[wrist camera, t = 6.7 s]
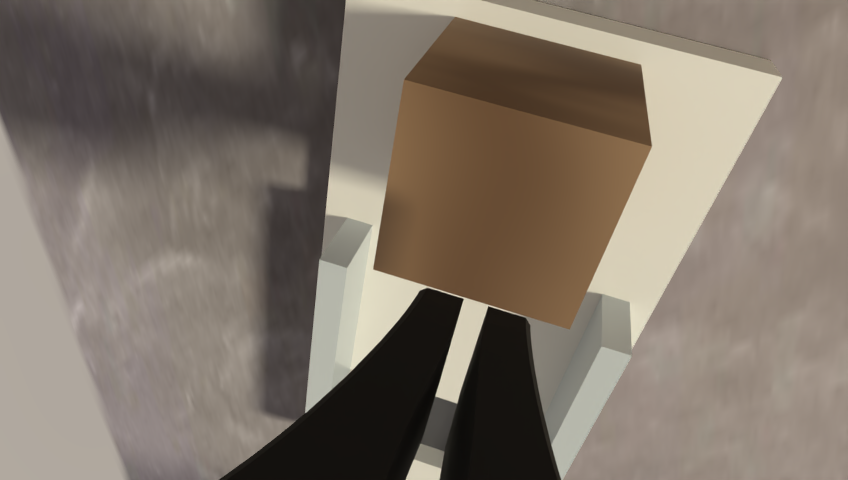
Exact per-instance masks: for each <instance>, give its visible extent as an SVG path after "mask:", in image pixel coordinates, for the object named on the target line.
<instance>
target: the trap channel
mask: <svg viewBox="0 0 848 480" xmlns="http://www.w3.org/2000/svg"><path fill="white" fill-rule="evenodd" d="M454 17H458V18H462V19H466V20H470V21H474V22H478V23H482V24H486V25H489V26H493V27H497V28H501V29H505V30H509V31H513V32H517V33H520V34H524V35H528V36H532V37H536V38H540V39H544V40H548V41H551V42H555V43H559V44H563V45H567V46H571V47H575V48H579V49H582V50H586V51H590V52H594V53H598V54H602V55H606V56H610V57H614V58H617V59H621V60H625V61H629V62H633V63H637V64H641V67H642V74H643V82H644V90H645V97H646V105H647V112H648V120H649V128H650V135H651V143H652V148H651V150H650V152H649V155H648V157H647V159H646V161H645V163H644V166H643V168H642V170H641V172H640V175H639V177H638V179H637V181H636V183H635V186H634V188H633V190H632V192H631V195H630V197H629V199H628V201H627V203H626V206H625V208H624V210H623V212H622V215H621V217H620V219H619V221H618V223H617V226H616V228H615V230H614V232H613V235H612V237H611V239H610V241H609V243H608V246H607V248H606V250H605V252H604V255H603V257H602V259H601V261H600V263H599V266H598V268H597V270H596V272H595V274H594V277H593V279H592V281H591V283H590V286H589V288H588V290H587V292H586V294H585V297H584V299H583V301H582V303H581V306H580V308H579V310H578V312H577V314H576V317H575V319H574V321H573V323H572V326H571V328H570V330H569V329H566V328H563V327H559V326H556V325H553V324H550V323H546V322H543V321H540V320H537V319H533V318H530V317H527V316H523V315H520V314H517V313H514V312H510V311H507V310H504V309H501V308H497V307H494V306H491V305H487V304H484V303H481V302H478V301H474V300H471V299H468V298H465V297H461V296H458V295H455V294H451V293H448V292H445V291H442V290H438V289H435V288H432V287H429V286H425V285H422V284H419V283H415V282H412V281H409V280H406V279H402V278H399V277H396V276H393V275H389V274H386V273H383V272H379V271H376V270H373V266H374V260H375V254H376V248H377V242H378V236H379V229H380V223H381V217H382V211H383V205H384V199H385V192H386V186H387V180H388V174H389V168H390V162H391V155H392V149H393V143H394V137H395V131H396V125H397V119H398V112H399V106H400V100H401V94H402V88H403V82H404V79H405V77H406V76H407V75H408V74H409V73H410V71H411V70H412V69H413V68H414V66H415V65H416V64H417V63H418V62H419V60H420V59H421V58H422V57H423V55H424V54H425V53H426V52H427V51H428V49H429V48H430V47H431V46H432V44H433V43H434V42H435V41H436V39H437V38H438V37H439V36H440V35H441V33H442V32H443V31H444V30H445V28H446V27H447V26H448V25H449V24H450V22H451V21H452V20H453V19H454ZM782 78H783V77H782V76H781V74H780V73H779V71H778V70H777V69H776V67H775V66H774V64H773V63H772V61H771V60H768V59H764V58H760V57H756V56H752V55H748V54H744V53H740V52H736V51H732V50H728V49H724V48H720V47H716V46H712V45H708V44H704V43H701V42H697V41H693V40H689V39H685V38H681V37H677V36H673V35H669V34H665V33H661V32H657V31H653V30H649V29H645V28H641V27H637V26H633V25H629V24H626V23H622V22H618V21H614V20H610V19H606V18H602V17H598V16H594V15H590V14H586V13H582V12H578V11H574V10H570V9H566V8H562V7H558V6H554V5H551V4H547V3H543V2H539V1H535V0H346V5H345V16H344V26H343V36H342V47H341V57H340V68H339V78H338V89H337V99H336V109H335V120H334V130H333V141H332V151H331V161H330V172H329V182H328V193H327V203H326V214H325V224H324V234H323V245H322V255H321V258H320V259H319V269H318V280H317V291H316V301H315V312H314V323H313V333H312V344H311V354H310V365H309V376H308V386H307V397H306V408H305V413H306V412H307V411H309V410H310V409H311V408H312V407H313V406H314V405H315V404H316V403H317V402H319V401H320V400H321V399H322V398H323V397H324V396H325V395H326V394H327V393H328V392H329V391H331V390H332V389H333V388H334V387H335V386H336V385H337V384H338V383H339V382H340V381H342V380H343V379H344V378H345V377H346V376H347V375H348V374H349V373H350V372H351V371H352V370H353V369H354V368H355V367H356V366H357V365H358V364H359V363H360V362H361V361H362V360H363V359H364V358H365V357H366V356H367V354H368V353H369V352H370V351H371V350H372V349H373V348H374V347H375V346H376V345H377V344H378V343H379V342H380V341H381V340H382V339H383V338H384V336H385V335H386V334H387V333H388V332H389V331H390V330H391V328H392V327H393V326H394V325H395V324H396V323H397V321H398V320H399V319H400V318H401V316H402V315H403V314H404V313H405V311H406V310H407V309H408V307H409V306H410V305H411V303H412V302H413V300H414V299H415V297H416V296H417V294H418V292H419V291H420V290H423V289H425V288H430V289H434V290H437V291H440V292H443V293H447V294H450V295H453V296H457V297H460V298H463V299H464V300H463V304H462V307H461V310H460V314H459V317H458V321H457V324H456V328H455V331H454V334H453V338H452V341H451V345H450V348H449V352H448V355H447V358H446V362H445V365H444V369H443V372H442V376H441V379H440V383H439V386H438V389H437V392H436V396H435V399H434V402H433V406H432V409H431V412H430V415H429V419H428V422H427V425H426V429H425V432H424V435H423V439H422V441H421V443H420V446H419V448H418V451H417V453H416V456H415V458H414V460H413V463H412V465H411V468H410V470H409V473H408V475H407V478H406V480H440V474H441V468H442V462H443V457H444V451H445V446H446V442H447V438H448V435H449V431H450V428H451V424H452V420H453V417H454V413H455V409H456V406H457V402H458V399H459V395H460V391H461V388H462V385H463V382H464V379H465V376H466V373H467V370H468V367H469V364H470V361H471V358H472V355H473V351H474V348H475V345H476V342H477V339H478V336H479V333H480V330H481V327H482V324H483V321H484V318H485V315H486V312H487V309H488V306H489V307H492V308H496V309H499V310H502V311H506V312H509V313H512V314H515V315H519V316H522V317H525V318H526V319H527V321H528V322H529V324H530V331H531V344H532V353H533V360H534V367H535V373H536V378H537V384H538V389H539V394H540V399H541V404H542V409H543V413H544V417H545V421H546V425H547V429H548V433H549V437H550V441H551V446H552V449H553V453H554V456H555V460H556V464H557V467H558V471H559V474H560V477H561V480H563V478H564V476H565V474H566V473H567V471H568V469H569V467H570V466H571V464H572V462H573V460H574V458H575V457H576V455H577V453H578V451H579V450H580V448H581V446H582V444H583V442H584V441H585V439H586V437H587V435H588V433H589V432H590V430H591V428H592V426H593V425H594V423H595V421H596V419H597V417H598V416H599V414H600V412H601V410H602V408H603V407H604V405H605V403H606V401H607V400H608V398H609V396H610V394H611V392H612V391H613V389H614V387H615V385H616V383H617V382H618V380H619V378H620V376H621V375H622V373H623V371H624V369H625V367H626V366H627V364H628V362H629V360H630V358H631V357H632V348H633V346H634V344H635V343H636V341H637V339H638V337H639V335H640V334H641V332H642V330H643V328H644V326H645V325H646V323H647V321H648V319H649V317H650V316H651V314H652V312H653V310H654V308H655V307H656V305H657V303H658V301H659V299H660V298H661V296H662V294H663V292H664V290H665V289H666V287H667V285H668V283H669V281H670V280H671V278H672V276H673V274H674V272H675V270H676V269H677V267H678V265H679V263H680V261H681V260H682V258H683V256H684V254H685V252H686V251H687V249H688V247H689V245H690V243H691V242H692V240H693V238H694V236H695V234H696V233H697V231H698V229H699V227H700V225H701V224H702V222H703V220H704V218H705V216H706V215H707V213H708V211H709V209H710V207H711V206H712V204H713V202H714V200H715V198H716V197H717V195H718V193H719V191H720V189H721V188H722V186H723V184H724V182H725V180H726V179H727V177H728V175H729V173H730V171H731V170H732V168H733V166H734V164H735V162H736V161H737V159H738V157H739V155H740V153H741V152H742V150H743V148H744V146H745V144H746V142H747V141H748V139H749V137H750V135H751V133H752V132H753V130H754V128H755V126H756V124H757V123H758V121H759V119H760V117H761V115H762V114H763V112H764V110H765V108H766V106H767V105H768V103H769V101H770V99H771V97H772V96H773V94H774V92H775V90H776V88H777V87H778V85H779V83H780V81H781V79H782Z"/></svg>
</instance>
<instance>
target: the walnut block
mask: <svg viewBox="0 0 848 480" xmlns="http://www.w3.org/2000/svg"><path fill="white" fill-rule="evenodd" d="M651 148H652V143H651V135H650V128H649V120H648V112H647V105H646V97H645V90H644V82H643V74H642V67H641V64H637V63H633V62H629V61H625V60H621V59H617V58H614V57H610V56H606V55H602V54H598V53H594V52H590V51H586V50H582V49H579V48H575V47H571V46H567V45H563V44H559V43H555V42H551V41H548V40H544V39H540V38H536V37H532V36H528V35H524V34H520V33H517V32H513V31H509V30H505V29H501V28H497V27H493V26H489V25H486V24H482V23H478V22H474V21H470V20H466V19H462V18H458V17H454V19H453V20H452V21H451V22H450V24H449V25H448V26H447V27H446V28H445V30H444V31H443V32H442V33H441V35H440V36H439V37H438V38H437V39H436V41H435V42H434V43H433V44H432V46H431V47H430V48H429V49H428V51H427V52H426V53H425V54H424V55H423V57H422V58H421V59H420V60H419V62H418V63H417V64H416V65H415V66H414V68H413V69H412V70H411V71H410V73H409V74H408V75H407V76H406V77H405V79H404V82H403V88H402V94H401V100H400V106H399V112H398V119H397V125H396V131H395V137H394V143H393V149H392V155H391V162H390V168H389V174H388V180H387V186H386V192H385V199H384V205H383V211H382V217H381V223H380V229H379V236H378V242H377V248H376V254H375V260H374V266H373V270H376V271H379V272H383V273H386V274H389V275H393V276H396V277H399V278H402V279H406V280H409V281H412V282H415V283H419V284H422V285H425V286H429V287H432V288H435V289H438V290H442V291H445V292H448V293H451V294H455V295H458V296H461V297H465V298H468V299H471V300H474V301H478V302H481V303H484V304H487V305H491V306H494V307H497V308H501V309H504V310H507V311H510V312H514V313H517V314H520V315H523V316H527V317H530V318H533V319H537V320H540V321H543V322H546V323H550V324H553V325H556V326H559V327H563V328H566V329H569V330H570V328H571V326H572V323H573V321H574V319H575V317H576V314H577V312H578V310H579V308H580V306H581V303H582V301H583V299H584V297H585V294H586V292H587V290H588V288H589V286H590V283H591V281H592V279H593V277H594V274H595V272H596V270H597V268H598V266H599V263H600V261H601V259H602V257H603V255H604V252H605V250H606V248H607V246H608V243H609V241H610V239H611V237H612V235H613V232H614V230H615V228H616V226H617V223H618V221H619V219H620V217H621V215H622V212H623V210H624V208H625V206H626V203H627V201H628V199H629V197H630V195H631V192H632V190H633V188H634V186H635V183H636V181H637V179H638V177H639V175H640V172H641V170H642V168H643V166H644V163H645V161H646V159H647V157H648V155H649V152H650V150H651Z"/></svg>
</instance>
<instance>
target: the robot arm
mask: <svg viewBox="0 0 848 480" xmlns="http://www.w3.org/2000/svg"><path fill="white" fill-rule="evenodd" d="M463 300H464V299H463V298H460V297H457V296H453V295H450V294H447V293H443V292H440V291H437V290H434V289H430V288H425V289H423V290H420V291H419V292H418V294H417V296H416V297H415V299H414V300H413V302H412V303H411V305H410V306H409V307H408V309H407V310H406V311H405V313H404V314H403V315H402V316H401V318H400V319H399V320H398V321H397V323H396V324H395V325H394V326H393V327H392V328H391V330H390V331H389V332H388V333H387V334H386V335H385V336H384V338H383V339H382V340H381V341H380V342H379V343H378V344H377V345H376V346H375V347H374V348H373V349H372V350H371V351H370V352H369V353H368V354H367V356H366V357H365V358H364V359H363V360H362V361H361V362H360V363H359V364H358V365H357V366H356V367H355V368H354V369H353V370H352V371H351V372H350V373H349V374H348V375H347V376H346V377H345V378H344V379H343V380H342V381H340V382H339V383H338V384H337V385H336V386H335V387H334V388H333V389H332V390H331V391H329V392H328V393H327V394H326V395H325V396H324V397H323V398H322V399H321V400H320V401H319V402H317V403H316V404H315V405H314V406H313V407H312V408H311V409H310V410H309V411H307V412H306V413H305V414H304V415H303V416H302V417H300V418H299V419H298V420H297V421H296V422H294V423H293V424H292V425H291V426H290V427H288V428H287V429H286V430H285V431H283V432H282V433H281V434H280V435H279V436H277V437H276V438H275V439H273V440H272V441H271V442H270V443H268V444H267V445H266V446H264V447H263V448H262V449H261V450H259V451H258V452H257V453H255V454H254V455H253V456H251V457H250V458H249V459H247V460H246V461H245V462H243V463H242V464H240V465H239V466H238V467H236V468H235V469H233V470H232V471H231V472H229V473H228V474H226V475H225V476H224V477H222V478H221V479H219V480H406V478H407V475H408V473H409V470H410V468H411V465H412V463H413V460H414V458H415V456H416V453H417V451H418V448H419V446H420V443H421V441H422V439H423V435H424V432H425V429H426V425H427V422H428V419H429V415H430V412H431V409H432V406H433V402H434V399H435V396H436V392H437V389H438V386H439V383H440V379H441V376H442V372H443V369H444V365H445V362H446V358H447V355H448V352H449V348H450V345H451V341H452V338H453V334H454V331H455V328H456V324H457V321H458V317H459V314H460V310H461V307H462V304H463ZM440 480H561V477H560V474H559V471H558V467H557V464H556V460H555V456H554V453H553V449H552V446H551V441H550V437H549V433H548V429H547V425H546V421H545V417H544V413H543V409H542V404H541V399H540V394H539V389H538V384H537V378H536V373H535V367H534V360H533V353H532V344H531V331H530V324H529V322H528V321H527V319H526V318H525V317H522V316H519V315H515V314H512V313H509V312H506V311H502V310H499V309H496V308H492V307H489V306H488V309H487V312H486V315H485V318H484V321H483V324H482V327H481V330H480V333H479V336H478V339H477V342H476V345H475V348H474V351H473V355H472V358H471V361H470V364H469V367H468V370H467V373H466V376H465V379H464V382H463V385H462V388H461V391H460V395H459V399H458V402H457V406H456V409H455V413H454V417H453V420H452V424H451V428H450V431H449V435H448V438H447V442H446V446H445V451H444V457H443V462H442V468H441V474H440Z"/></svg>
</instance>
